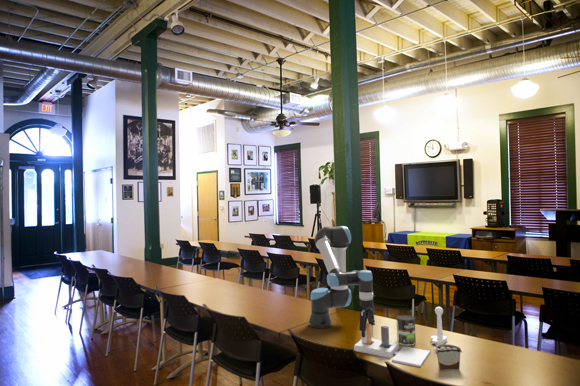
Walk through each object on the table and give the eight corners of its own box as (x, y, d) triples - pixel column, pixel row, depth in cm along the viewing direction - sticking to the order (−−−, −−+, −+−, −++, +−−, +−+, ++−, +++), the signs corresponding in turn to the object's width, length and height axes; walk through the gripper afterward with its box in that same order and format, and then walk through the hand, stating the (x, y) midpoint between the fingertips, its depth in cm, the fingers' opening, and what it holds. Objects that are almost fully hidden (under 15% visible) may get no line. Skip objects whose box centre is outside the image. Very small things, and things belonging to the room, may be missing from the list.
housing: (354, 350, 210) (354, 345, 210) (364, 342, 222) (364, 337, 222) (390, 357, 199) (390, 352, 199) (398, 348, 211) (398, 343, 211)
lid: (388, 360, 196) (387, 358, 196) (399, 347, 213) (399, 345, 213) (420, 367, 187) (420, 365, 187) (430, 352, 204) (430, 350, 204)
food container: (456, 364, 190) (455, 343, 190) (462, 369, 183) (461, 348, 184) (431, 365, 189) (430, 344, 189) (436, 370, 183) (436, 349, 183)
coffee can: (419, 344, 216) (418, 319, 216) (403, 346, 213) (402, 321, 214) (409, 338, 226) (408, 314, 226) (393, 340, 223) (392, 316, 224)
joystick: (439, 346, 213) (437, 309, 213) (426, 342, 218) (425, 307, 219) (448, 340, 220) (447, 305, 220) (436, 337, 226) (434, 303, 226)
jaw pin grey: (380, 352, 207) (379, 327, 207) (383, 349, 211) (382, 325, 211) (388, 353, 205) (387, 328, 205) (390, 350, 208) (389, 326, 209)
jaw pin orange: (363, 348, 212) (362, 325, 213) (366, 346, 216) (365, 322, 216) (370, 350, 210) (369, 326, 211) (372, 347, 214) (372, 323, 214)
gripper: (365, 304, 202) (366, 347, 202) (379, 295, 221) (381, 334, 221) (351, 302, 206) (353, 345, 206) (367, 293, 225) (368, 332, 225)
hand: (367, 339), depth 213 cm, fingers open, 9 cm apart
